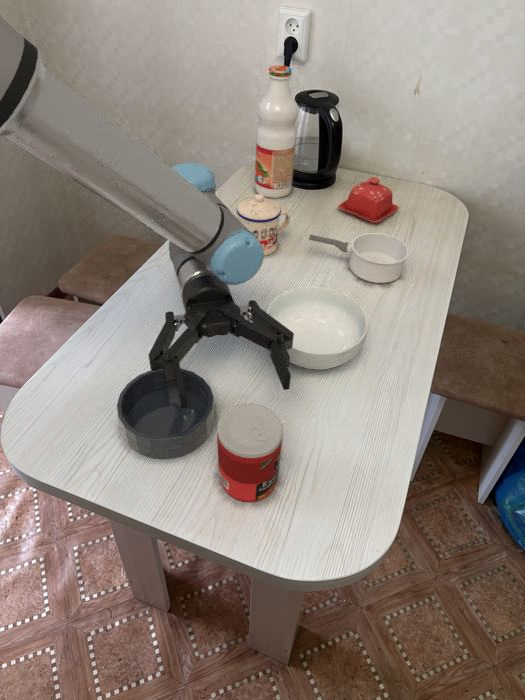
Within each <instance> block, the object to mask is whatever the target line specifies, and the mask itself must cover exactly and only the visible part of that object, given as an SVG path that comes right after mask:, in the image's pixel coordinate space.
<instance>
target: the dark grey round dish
mask: <svg viewBox="0 0 525 700" xmlns="http://www.w3.org/2000/svg"><path fill="white" fill-rule="evenodd" d="M180 369H181V374H182V378H183V383H184V387H185V392H186V400H187V408H183V409H181V405H180V400H179V395H178V390H177V386H174V387H169V386H168V385H167V380H166V375H165V371H164V370H163V369H158V370H157V371H153V370H151V369H150V370H148V371H146V372H143V373H140V374H138V375H137V376H135V377H134V378H133V379H131V380H130V381H129V382H128V383H127V384H126V385H125V386H124V388H123V389H122V391H121V392H120V393H119V396H118V400H117V403H116V410H117V417H118V422H119V425H120V430H121V434H122V436H123V437H124V440H125V442H126V444H127V445H128V446H129V447H130V448H131V449H132V450H134V451H135V452H136V453H137V454H139V455H142V456H144V457H146V458H150V459H155V460H171V459H177V458H181V457H184V456H187V455H189V454H191V453H192V452H194V451H196V450H197V449H199V448H200V447H201V446H202V445H203V444H204V443H205V442H206V441H207V439H208V438H209V436H210V435H211V433H212V430H213V428H214V424H215V423H214V422H215V421H214V420H215V403H214V394H213V392H212V388H211V386H210V385H209V384H208V383H207V381H206V380H205V379H204V378H203V377H202V376H200V375H199V374H197V373H195V372H194V371H191V370H188V369H184V368H182V367H180Z"/></svg>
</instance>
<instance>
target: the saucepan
mask: <svg viewBox="0 0 525 700" xmlns="http://www.w3.org/2000/svg"><path fill="white" fill-rule="evenodd" d="M308 241H312V242H318V243H322V244H327V245H331V246H334V247H336V248H337V249H338V250H340V251H341V252H342V253H349V254H350V258H349V264H348V265H349V269H350V270H351V272H352V273H353V274H354V275H355V276H357V277H358V278H360V279H362V280H364V281H366V282H370V283H375V284H385V283H390V282H394V281H396V280H398V279H399V278H400V277H401V275H402V273H403V269H404V266H405V262H406V259H407V258H408V257H409V256H410V249H409V247H408V246H407V244H406V243H405V242H404V241H403V240H401V239H399V238H398V237H396V236H393V235H391V234H387V233H383V232H366V233H362V234H361V233H360V234H358V235H356V236H355V237H353V239H352V240H351V242H345V241H344V242H343V241H341V240H338V239H335V238H329V237H324V236H319V235H314V234H309V237H308Z"/></svg>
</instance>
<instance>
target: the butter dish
mask: <svg viewBox="0 0 525 700" xmlns="http://www.w3.org/2000/svg"><path fill="white" fill-rule="evenodd" d="M380 181H381V180H380V179H379V178H378V177H374V176H371V177H369V178H368V180H366V181H361V182H360V183H358V184H356V185H355V186H353V187H352V189H351V190H350V192H349V194H348V197H347V199H346V200H343V202H341V203H339V204H338V206H337V208H338V209H339V210H341V211H344V212H346V213H349V214H351V215H354V216H356V217H359V218H360V219H363V220H365V221H368V222H370V223H374V224H377V223H380V222H381V221H384V219H386V218H388V217H389V216H390V215H392V214H394V213H395V212H397V211H398V210H399V209H400V207H399V205H397V204H394V203H393V191H392V190H391V189H390V188H389V187H387V186H386V185H383V184H382V183H380Z"/></svg>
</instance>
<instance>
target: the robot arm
mask: <svg viewBox="0 0 525 700" xmlns="http://www.w3.org/2000/svg"><path fill="white" fill-rule="evenodd" d="M0 138H6V139H7V140H9V141H10V142H12V143H13V144H15V145H17V146H18V147H20V148H22V149H23V150H25V151H27V152H28V153H30V154H32V155H33V156H34V157H36V158H37V159H39V160H41V161H43V162H44V163H46V164H47V165H49V166H50V167H52V168H54V169H55V170H57V171H58V172H60V173H61V174H63V175H65V176H66V177H68V178H69V179H71V180H72V181H74V182H76V183H77V184H79V185H80V186H82V187H84V188H85V189H87V190H89V191H90V192H91V193H93V194H95V195H96V196H97V197H100V198H101V199H103V200H104V201H106V202H108V203H109V204H111V205H112V206H113V207H115V208H117V209H119V210H120V211H122V212H124V213H125V214H127V215H128V216H129V217H131V218H133V219H135V220H136V221H138V222H139V223H141V224H143V225H144V226H145V227H148V228H149V229H151V230H152V231H153V232H155V233H156V234H158V235H160V236H162V237H163V238H164V239H166V240H168V251H169V259H170V261H171V263H172V266H173V270H174V273H175V276H176V280H177V281H176V282H177V285H178V288H179V293H180V296H181V301H182V305H183V309H184V314H179V315H175V313H174V311H171V310H168V311H166V312H165V321H164V324H163V326H162V328H161V330H160V332H159V333H158V336H157V337H156V339H155V341H154V343H153V345H152V348H151V349H150V351H149V353H148V356H147V357H148V362H149V366H150V367H149V368H150V370H153V371H157V370H158V369H163V370H164V371H165V375H166V380H167V385H168V386H169V387H174V386H177V390H178V395H179V400H180V405H181V409H183V408H187V400H186V392H185V387H184V383H183V378H182V374H181V369H180V368H181V365H180V362H181V361H182V360H183V359H184V358H185V356H186V355H187V354H188V353H189V352H190V350H191V349H193V347H194V345H197V344H198V343H199V342H200V341H201V340H202V339H203V338H204V337H206V338H207V339H209V338H213V337H217V336H228V335H229V334H230V335H232V336H233V337H236V338H240V337H241V338H243V339H245V340H247V341H248V342H251V343H253V344H255V345H257V346H259V347H261V348H263V349H265V350H267V351H269V352H270V355H269V356H270V360H271V362H272V365H273V367H274V370H275V372H276V374H277V377H278V379H279V382H280V384H281V386H282V389H283V391H287V390H290V386H291V377H292V374H291V372H290V370H289V367H290V362H289V360H290V356H289V354H288V352H287V349H291V348H292V346H293V337H294V333H293V332H292V331H290V330H289V329H288V328H286V327H285V326H284V325H282V324H281V323H280V322H278V321H277V320H275V319H274V318H273V317H271V316H270V315H269V314H267V313H266V311H265V310H263V309H262V308H261V307H260V305H259V303H258V302H257V301H256V300H254V299H251V300H250V299H249V301H248V303H247V304H248V305H244V306H239V305H237V304H236V302H235V300H234V298H233V294H232V292H231V290H230V286H238V285H241V284H244V283H247V282H248V281H250V280H251V279H253V278H254V276H255V275H256V274H258V272H259V271H260V269H261V268H262V265H263V263H264V258H265V256H264V252H263V248H262V245H261V244H260V242H259V241H258V240H257V239H256V237H255V235H254V234H253V233H252V232H250V231H249V230H248V229H247V228H246V227H245V226H244V225H243V224H242V223H241V222H240V221H239V220H238V217H237V216H236V215H235V214H234V213H233V212H232V211H231V210H230V209H229V208H228V207H227V206H226V204H225V203H223V202H222V200H221V199H220V198H219V197H218V196H217V194H216V188H217V185H216V181H215V174H214V171H213V170H212V169H211V168H210V167H209V166H207V165H204V164H202V163H197V162H184V163H179V164H176V165H173V166H170V165H168V164H167V163H166V162H165V161H163V160H162V159H161V158H160V157H158V156H157V155H156V154H155V153H153V152H152V151H150V150H149V149H148V148H147V147H146V146H144V145H142V144H141V142H139V141H138V140H136V139H135V138H134V137H132V136H131V135H130V133H129V134H128V133H127V132H126V131H125V130H123V129H122V128H121V127H120V126H119V125H118V124H116V123H115V122H113V120H111V119H110V118H108V116H106V115H105V114H103V113H102V112H101V111H100V110H98V109H97V108H96V107H95V106H93V105H92V104H91V103H90V102H88V101H87V100H86V99H85V98H84V97H82V96H81V95H79V94H78V93H77V92H76V91H74V90H73V89H72V88H71V87H69V86H68V85H67V84H65V83H64V82H63V81H62V80H60V79H59V78H58V77H56V75H54V74H53V73H52V72H50V71H49V70H48V69H47V68H45V66H44V61H43V57H42V53H41V51H40V49H39V48H38V47H37V46H36V45H34V44H32V42H30V41H29V40H28V39H26V38H25V37H24V36H23V35H22V34H20V32H18V31H17V30H16V29H15V28H14V27H13V26H11V24H9V23H8V22H7V21H6V19H4V18H3V16H2V15H0ZM229 285H230V286H229ZM182 325H185V326H186V328H185V330H184V331H183V332H182V333H181V335H180V336H178V337H177V339H176V340H175V341H174V339H175V336H176V332H179V329H180V328H181V326H182ZM173 341H174V342H173Z"/></svg>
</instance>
